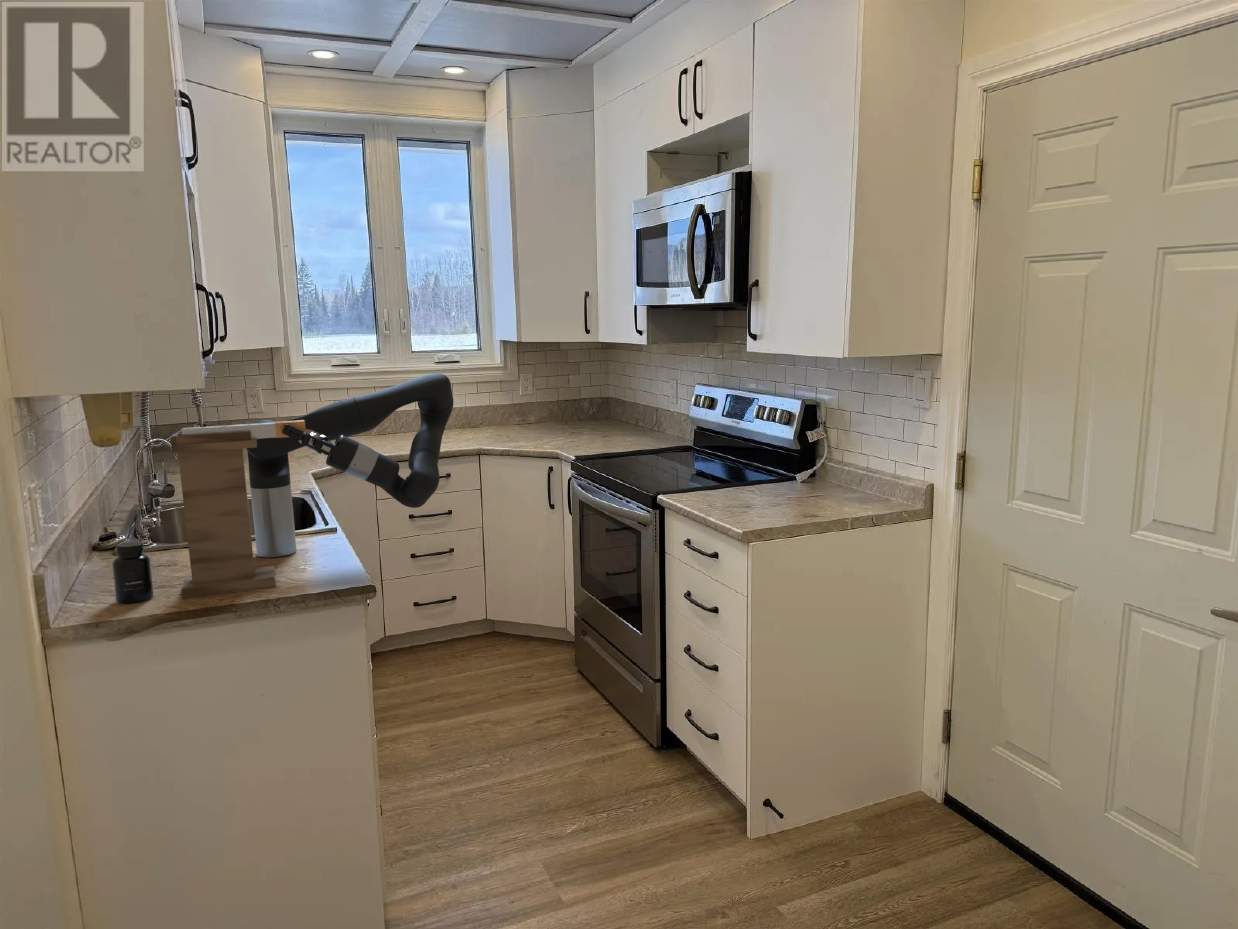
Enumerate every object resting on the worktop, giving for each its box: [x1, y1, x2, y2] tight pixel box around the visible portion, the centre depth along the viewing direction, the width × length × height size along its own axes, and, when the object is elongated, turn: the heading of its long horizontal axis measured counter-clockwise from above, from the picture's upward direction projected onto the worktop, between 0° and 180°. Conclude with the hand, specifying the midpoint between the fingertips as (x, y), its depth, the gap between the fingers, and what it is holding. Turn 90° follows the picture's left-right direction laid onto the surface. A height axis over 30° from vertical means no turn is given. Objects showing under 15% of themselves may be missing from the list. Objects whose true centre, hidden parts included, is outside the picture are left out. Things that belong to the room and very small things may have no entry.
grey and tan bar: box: [181, 420, 306, 439], centre depth 178 cm, size 3×24×3 cm, turn 114°
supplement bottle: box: [111, 541, 154, 605], centre depth 172 cm, size 7×7×12 cm
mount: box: [170, 431, 276, 600], centre depth 178 cm, size 10×18×34 cm, turn 114°
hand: (282, 426), depth 181 cm, fingers open, 8 cm apart
